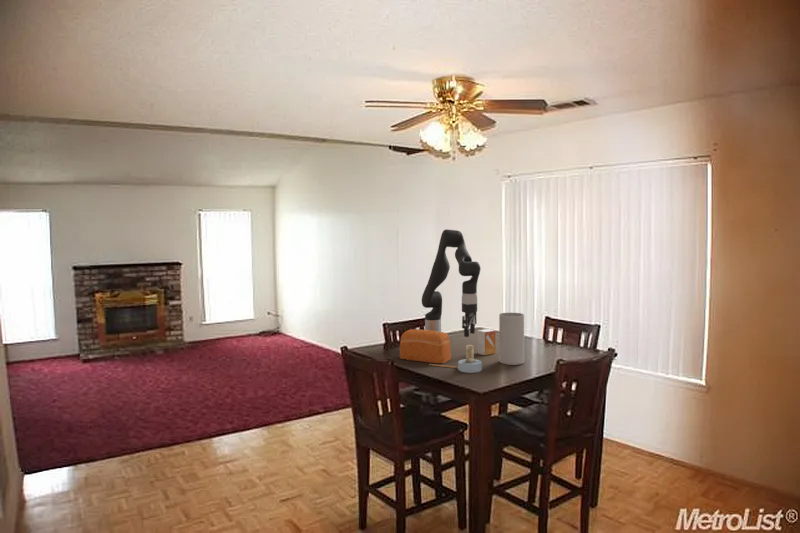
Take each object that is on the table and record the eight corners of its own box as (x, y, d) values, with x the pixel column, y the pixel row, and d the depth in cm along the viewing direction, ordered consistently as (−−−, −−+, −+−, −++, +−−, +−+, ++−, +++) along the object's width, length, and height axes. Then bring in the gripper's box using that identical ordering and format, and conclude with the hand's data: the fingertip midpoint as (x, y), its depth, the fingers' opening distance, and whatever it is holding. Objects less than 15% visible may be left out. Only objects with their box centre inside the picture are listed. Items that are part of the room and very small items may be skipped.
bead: (455, 371, 267) (455, 363, 267) (463, 365, 277) (463, 358, 277) (477, 373, 263) (476, 365, 262) (484, 368, 272) (484, 360, 272)
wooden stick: (428, 365, 279) (428, 363, 279) (429, 365, 280) (429, 363, 280) (459, 368, 272) (459, 367, 272) (460, 368, 272) (460, 366, 272)
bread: (441, 365, 280) (441, 334, 279) (397, 359, 293) (396, 330, 292) (452, 359, 292) (452, 329, 291) (409, 354, 305) (409, 326, 304)
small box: (484, 355, 298) (484, 332, 297) (477, 353, 304) (477, 330, 303) (495, 353, 303) (495, 330, 302) (488, 351, 308) (487, 328, 307)
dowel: (465, 370, 269) (465, 346, 268) (467, 368, 272) (467, 344, 271) (472, 371, 267) (472, 346, 266) (474, 369, 271) (474, 345, 270)
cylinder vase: (527, 365, 277) (527, 316, 275) (503, 365, 276) (502, 316, 274) (520, 359, 289) (520, 312, 288) (496, 359, 288) (496, 312, 287)
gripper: (467, 299, 275) (467, 331, 277) (457, 303, 263) (457, 337, 264) (481, 300, 272) (481, 333, 273) (471, 304, 259) (471, 338, 261)
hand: (469, 335), depth 269 cm, fingers open, 8 cm apart
